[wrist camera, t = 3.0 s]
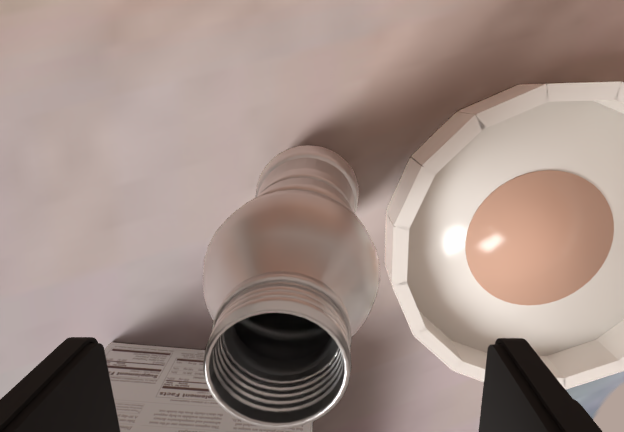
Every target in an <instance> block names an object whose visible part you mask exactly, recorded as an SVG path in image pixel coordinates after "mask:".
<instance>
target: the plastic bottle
mask: <svg viewBox="0 0 624 432" xmlns="http://www.w3.org/2000/svg"><path fill="white" fill-rule="evenodd" d="M358 198H359V186H358V182H357V178H356V176H355V174H354V172H353V170H352V168H351V167H350V165H349V164H348V163H347V161H346V160H344V159H343V158H342V157H341V156H340V155H339V154H337V153H335V152H333V151H331V150H330V149H327V148H323V147H320V146H312V145H305V146H297V147H294V148H290V149H287V150H285V151H283V152H281V153H279V154H278V155H277V156H276V157H274V158H273V159H272V160H271V161H270V162H269V163H268V164H267V165H266V167H265V168H264V170H263V171H262V173H261V175H260V178H259V181H258V184H257V189H256V197H255V198H254V199H253V200H251V201H249V202H247V203H246V204H244V205H243V206H242V207H240V208H239V209H238V210H236V211H235V212H234V213H233V214H232V215H231V216H230V217H228V218H227V219H226V221H225V222H224V223H223V224H222V225H221V226H220V227H219V229H218V230H217V231H216V232H215V234H214V236H213V238H212V240H211V242H210V243H209V245H208V248H207V252H206V255H205V258H204V267H203V292H204V299H205V303H206V306H207V308H208V311H209V313H210V316H211V317H212V319H213V320H214V322H213V325H212V333H211V336H210V338H209V340H208V343H207V346H206V349H205V353H204V363H203V372H204V378H205V382H206V385H207V387H208V389H209V392H210V393H211V395H212V396H213V398H214V399H215V401H216V402H217V403H218V404H219V405H220V406H221V407H222V408H223V409H224V410H225V411H226V412H228V413H229V414H231V415H232V416H234V417H235V418H237V419H239V420H241V421H244V422H246V423H248V424H252V425H255V426H259V427H264V428H273V429H281V428H292V427H297V426H302V425H305V424H308V423H310V422H313V421H315V420H317V419H319V418H320V417H322V416H324V415H325V414H327V413H328V412H329V411H330V410H331V409H332V408H334V407H335V406H336V405H337V403H338V402H339V401H340V399H341V398H342V397H343V395H344V393H345V390H346V388H347V386H348V382H349V377H350V372H351V354H350V347H351V342H352V339H351V337H352V336H353V335H354V334H355V333H356V332H357V331H358V330H359V329H360V327H361V326H362V325H363V323H364V322H365V320H366V319H367V317H368V315H369V312H370V310H371V308H372V306H373V303H374V300H375V298H376V295H377V291H378V286H379V281H380V264H379V259H378V255H377V251H376V248H375V246H374V244H373V242H372V240H371V238H370V236H369V234H368V232H367V230H366V228H365V226H364V225H363V224H362V222H361V221H360V220H359V219H358V217H357V216H356V215H355V212H356V209H357V204H358Z"/></svg>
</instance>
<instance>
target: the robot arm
mask: <svg viewBox="0 0 624 432" xmlns="http://www.w3.org/2000/svg"><path fill="white" fill-rule="evenodd" d="M0 432H120V427H119V422H118V417H117V412H116V406H115V401H114V396H113V391H112V386H111V381H110V376H109V371H108V366H107V361H106V356H105V351H104V347H103V345H102V344H98V342H97V340H96V339H95V338H93V337H71V338H68V339H66V340H65V341H64V342H63V343H61V344H60V345H59V346H58V347H57V348H56V349H55V350H54V351H53V352H52V353H51V354H50V355H48V356H47V357H46V358H45V359H44V360H43V361H42V362H41V363H40V364H39V365H38V366H36V367H35V368H34V369H33V370H32V371H31V372H30V373H29V374H28V375H27V376H26V377H24V378H23V379H22V380H21V381H20V382H19V383H18V384H17V385H16V386H15V387H14V388H13V389H11V390H10V391H9V392H8V393H7V394H6V395H5V396H4V397H3V398H2V399H1V400H0ZM479 432H602V431H601V429H600V428H599V427H598V426H597V424H596V423H595V422H594V421H593V419H592V418H591V417H590V416H589V414H588V413H587V412H586V411H585V409H584V408H583V407H582V406H581V405H580V404H579V403H578V402H577V401H576V400H574V399H572V398H571V396H570V395H569V394H568V392H567V391H566V390H565V389H564V387H563V386H562V385H561V384H560V382H559V381H558V380H557V379H556V377H555V376H554V375H553V373H552V372H551V371H550V370H549V368H548V367H547V366H546V365H545V363H544V362H543V361H542V360H541V358H540V357H539V356H538V355H537V353H536V352H535V351H534V349H533V348H532V347H531V346H530V344H529V343H528V342H527V341H526V340H525V339H523V338H498V339H497V340H496V342H495V344H490V345H489V346H488V350H487V359H486V368H485V378H484V387H483V397H482V406H481V416H480V425H479Z"/></svg>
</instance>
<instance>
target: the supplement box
mask: <svg viewBox="0 0 624 432" xmlns="http://www.w3.org/2000/svg"><path fill="white" fill-rule="evenodd" d="M104 351H105V356H106V361H107V366H108V371H109V376H110V381H111V386H112V391H113V396H114V401H115V406H116V412H117V417H118V422H119V427H120V432H312V422H310V423H308V424H305V425H302V426H297V427H292V428H281V429H273V428H264V427H259V426H255V425H252V424H248V423H246V422H244V421H241V420H239V419H237V418H235V417H234V416H232V415H231V414H229V413H228V412H226V411H225V410H224V409H223V408H222V407H221V406H220V405H219V404H218V403H217V402H216V401H215V399H214V398H213V396H212V395H211V393H210V392H209V389H208V387H207V385H206V382H205V378H204V372H203V363H204V353H205V350H197V349H185V348H172V347H160V346H148V345H136V344H124V343H114V342H111V343H110V344H109V345H108V346H107V347H106V349H105V350H104Z"/></svg>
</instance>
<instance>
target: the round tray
mask: <svg viewBox="0 0 624 432" xmlns="http://www.w3.org/2000/svg"><path fill="white" fill-rule="evenodd" d="M411 157H412V158H411ZM411 157H410V159H409V161H408V163H407V165H406V167H405V170H404V172H403V174H402V176H401V178H400V181H399V183H398V185H397V187H396V189H395V192H394V194H393V196H392V198H391V200H390V203H389V205H388V207H387V209H386V221H385V261H384V264H385V267H386V270H387V273H388V276H389V279H390V282H391V285H392V288H393V290H394V292H395V294H396V297H397V299H398V301H399V304H400V306H401V308H402V311H403V313H404V315H405V318H406V320H407V322H408V325H409V327H410V329H411V332H412V334H413V336H414V337H415V338H416V339H418V340H419V341H420V342H421V343H422V344H423V345H424V346H425V347H427V348H428V349H429V350H430V351H431V352H432V353H433V354H434V355H436V356H437V357H438V358H439V359H440V360H441V361H442V362H443V363H444V364H446V365H447V366H448V367H449V368H450V369H451V370H452V371H454V372H457V373H459V374H462V375H465V376H468V377H471V378H474V379H476V380H479V381H482V382H484V378H485V368H486V359H487V350H488V346H489V345H490V344H495V342H496V340H497V339H498V338H523V339H525V340H526V341H527V342H528V343H529V344H530V346H531V347H532V348H533V349H534V351H535V352H536V353H537V355H538V356H539V357H540V358H541V360H542V361H543V362H544V363H545V365H546V366H547V367H548V368H549V370H550V371H551V372H552V373H553V375H554V376H555V377H556V379H557V380H558V381H559V382H560V384H561V385H562V386H563V387H564V389H569V388H572V387H575V386H578V385H581V384H584V383H587V382H591V381H594V380H597V379H600V378H603V377H606V376H609V375H613V374H616V373H619V372H622V371H624V82H581V83H548V84H519V85H516V86H514V87H512V88H509V89H507V90H505V91H502V92H500V93H498V94H496V95H493V96H491V97H489V98H486V99H484V100H482V101H480V102H477V103H475V104H473V105H470V106H468V107H466V108H463V109H461V110H459V111H458V112H456V113H455V114H454V115H453V116H452V117H451V118H450V119H449V120H448V121H447V122H446V123H444V124H443V125H442V126H441V127H440V128H439V129H438V130H437V131H436V132H435V133H434V134H433V135H432V136H431V137H430V138H429V139H428V140H427V141H426V142H425V143H424V144H423V145H422V146H421V147H420V148H419V149H418V150H417V151H416V152H415V153H414V154H413V155H412V156H411Z"/></svg>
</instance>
